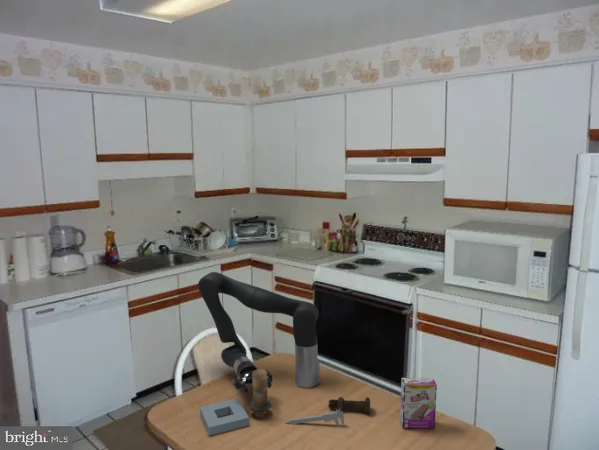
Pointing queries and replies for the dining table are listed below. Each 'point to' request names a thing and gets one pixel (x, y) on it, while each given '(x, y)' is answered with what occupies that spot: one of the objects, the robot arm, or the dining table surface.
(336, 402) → the bolt
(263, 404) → the peg
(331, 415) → the caliper
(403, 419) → the candy bar box
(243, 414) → the board
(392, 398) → the dining table surface
